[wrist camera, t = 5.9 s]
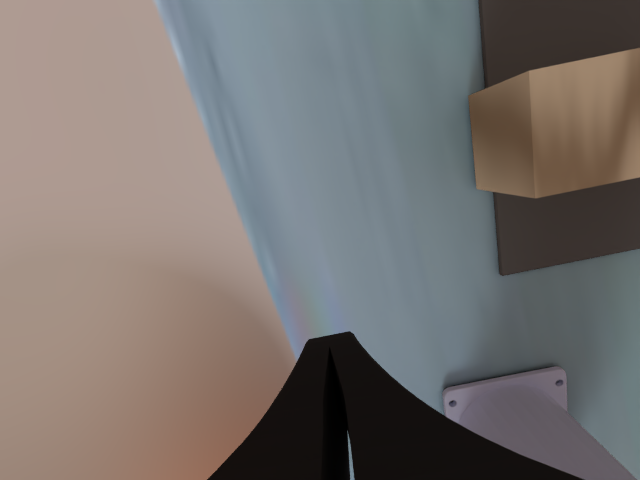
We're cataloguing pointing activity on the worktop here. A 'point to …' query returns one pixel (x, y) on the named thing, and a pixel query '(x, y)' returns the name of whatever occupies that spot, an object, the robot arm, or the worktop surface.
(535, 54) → the rubber mat
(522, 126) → the maple block
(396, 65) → the worktop surface
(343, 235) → the worktop surface
